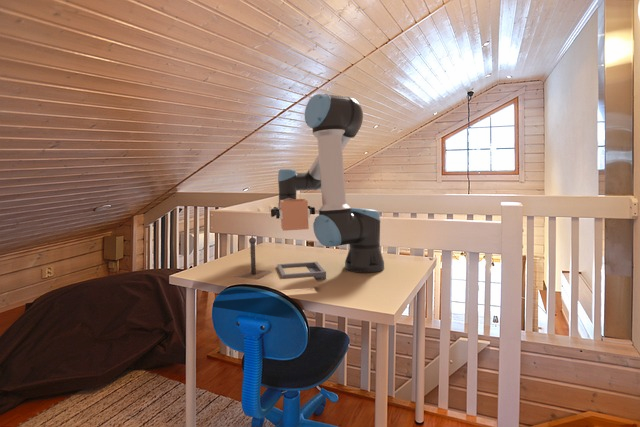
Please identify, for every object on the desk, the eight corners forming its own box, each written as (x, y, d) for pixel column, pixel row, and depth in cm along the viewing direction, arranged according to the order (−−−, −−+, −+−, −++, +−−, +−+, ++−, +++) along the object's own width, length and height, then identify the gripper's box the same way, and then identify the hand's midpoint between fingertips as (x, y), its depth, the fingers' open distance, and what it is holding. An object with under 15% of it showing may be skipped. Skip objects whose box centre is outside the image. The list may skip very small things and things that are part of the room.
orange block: (305, 225, 149) (304, 198, 148) (308, 229, 140) (307, 200, 139) (281, 226, 147) (280, 200, 146) (283, 230, 138) (281, 202, 137)
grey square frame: (317, 267, 154) (316, 261, 154) (326, 278, 139) (326, 272, 139) (277, 270, 151) (277, 264, 151) (282, 282, 136) (282, 275, 136)
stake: (273, 275, 144) (271, 235, 142) (258, 283, 135) (257, 241, 133) (249, 273, 148) (248, 234, 146) (233, 280, 139) (232, 239, 137)
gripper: (316, 215, 163) (326, 223, 141) (263, 218, 159) (264, 226, 137) (315, 197, 162) (325, 202, 140) (262, 200, 158) (263, 205, 136)
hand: (295, 214), depth 138 cm, fingers closed on orange block, 9 cm apart
